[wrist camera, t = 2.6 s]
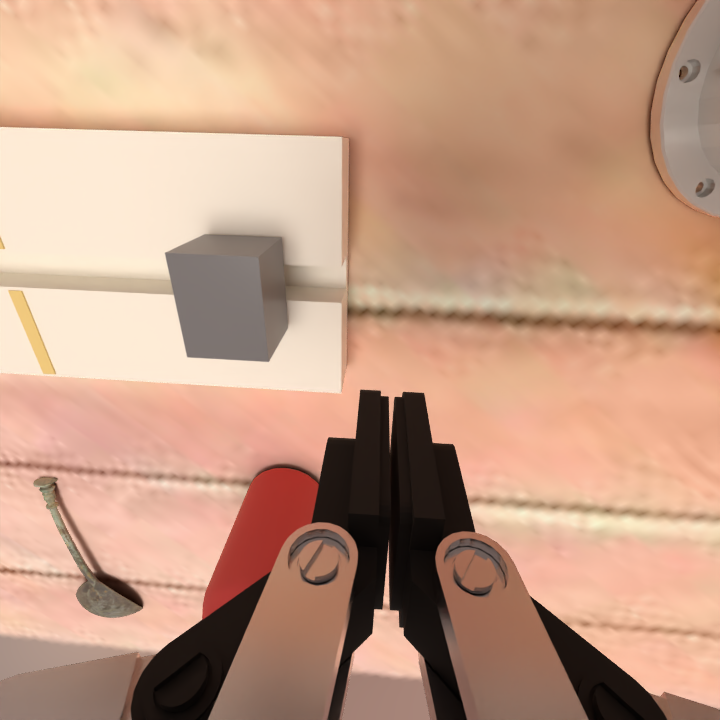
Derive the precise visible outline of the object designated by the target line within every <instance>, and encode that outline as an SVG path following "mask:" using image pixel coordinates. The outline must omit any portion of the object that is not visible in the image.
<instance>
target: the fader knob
mask: <svg viewBox="0 0 720 720" xmlns="http://www.w3.org/2000/svg"><path fill="white" fill-rule="evenodd" d="M165 256H166V261H167V266H168V270H169V275H170V280H171V284H172V289H173V294H174V298H175V303H176V308H177V312H178V317H179V322H180V326H181V331H182V336H183V340H184V345H185V350H186V354H187V357H190V358H207V359H225V360H243V361H260V362H269V361H270V359H271V357H272V356H273V354H274V352H275V350H276V349H277V347H278V345H279V343H280V341H281V340H282V338H283V336H284V334H285V333H286V331H287V329H288V319H287V304H286V290H285V275H284V261H283V246H282V237H259V236H235V235H210V234H204V235H202V236H200V237H198V238H195V239H193V240H191V241H189V242H187V243H185V244H183V245H180V246H178V247H176V248H174V249H172V250H170V251H168V252H165Z"/></svg>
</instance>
